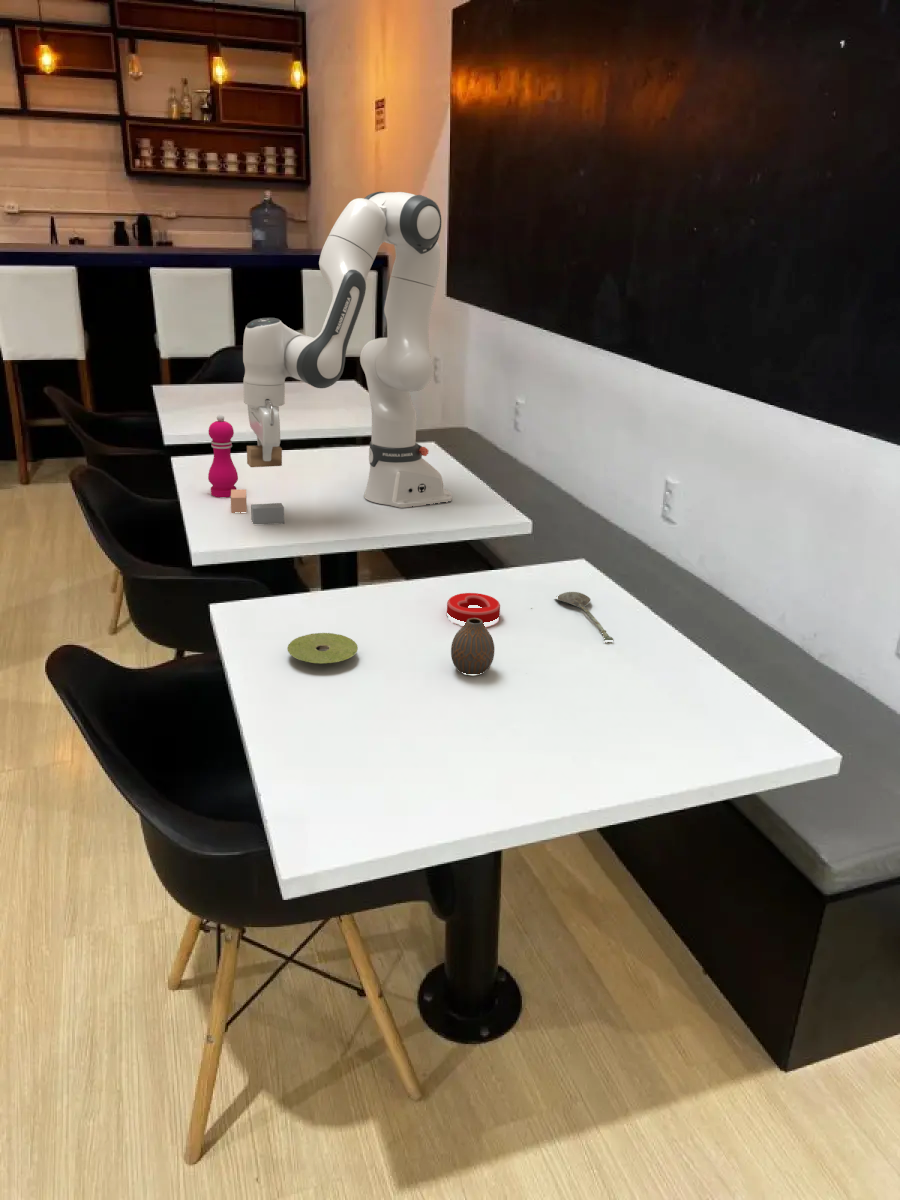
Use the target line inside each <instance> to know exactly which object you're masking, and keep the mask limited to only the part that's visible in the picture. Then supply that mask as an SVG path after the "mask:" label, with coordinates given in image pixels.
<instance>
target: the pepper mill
mask: <svg viewBox="0 0 900 1200" xmlns="http://www.w3.org/2000/svg"><path fill="white" fill-rule="evenodd" d="M216 420H217V421H213V422H212V423H211V424H210V425H209V427H208V436H209V437H210V439H211V441H210V442H211V448H212V449H213V459H212V462H211V465H210V467H209V470H208V474H207V475H208V476H207V477H208V479H207V480H208V482H209V483H210V484H211V485H212V486H211V487H210V494H211V495H210V496H212V497H214V496H215V498H220V497H226V498H231V497H230V496H231V490H237V487H236V486H235V485H236V483H237V482H238V480H239V476H238V475H239V474H238V471H237V469H236V466H235V464H234V462H233V459H232V457H231V455H232V454H231V448H232V447H233V444H232V443H233V441H232V438H233V437H234V433H235V430H234V427H233V425H232V424H231V423H230V422H228V421H225V416H224V415H223V414H218V415H217V417H216Z"/></svg>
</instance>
